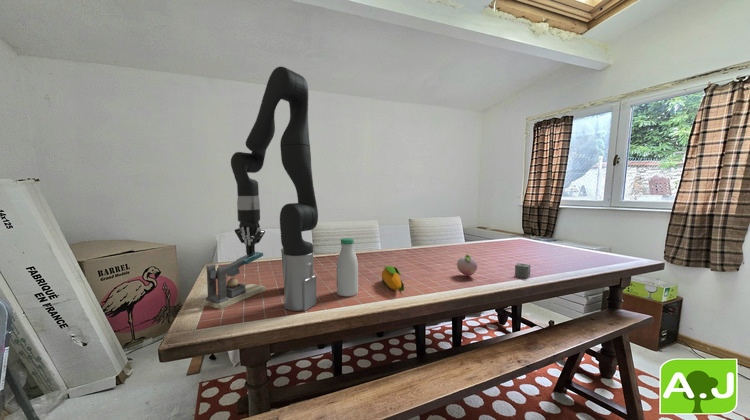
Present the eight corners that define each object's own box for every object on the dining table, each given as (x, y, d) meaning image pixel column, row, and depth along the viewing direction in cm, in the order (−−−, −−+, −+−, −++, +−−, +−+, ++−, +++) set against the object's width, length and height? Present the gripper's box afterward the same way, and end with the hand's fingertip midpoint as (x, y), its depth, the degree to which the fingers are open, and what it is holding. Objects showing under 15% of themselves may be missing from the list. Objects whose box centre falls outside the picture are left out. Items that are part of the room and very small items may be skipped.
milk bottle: (362, 293, 103) (362, 238, 102) (346, 298, 97) (346, 241, 96) (348, 288, 108) (348, 236, 107) (332, 293, 102) (332, 238, 101)
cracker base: (265, 290, 106) (265, 256, 105) (220, 309, 89) (219, 269, 88) (249, 287, 109) (249, 254, 108) (203, 305, 92) (201, 266, 91)
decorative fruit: (455, 273, 129) (455, 251, 128) (473, 273, 127) (474, 252, 127) (458, 279, 119) (458, 256, 119) (478, 280, 118) (479, 256, 118)
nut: (241, 287, 98) (240, 277, 98) (232, 290, 95) (231, 280, 95) (233, 286, 100) (233, 276, 99) (224, 289, 96) (224, 279, 96)
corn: (396, 261, 119) (408, 275, 99) (397, 279, 119) (410, 296, 100) (378, 263, 118) (388, 277, 98) (380, 281, 118) (389, 298, 99)
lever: (257, 281, 104) (264, 252, 107) (217, 279, 89) (226, 245, 92) (247, 280, 106) (254, 251, 109) (206, 277, 91) (215, 244, 94)
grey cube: (530, 275, 125) (530, 264, 124) (527, 278, 121) (527, 267, 121) (517, 273, 128) (518, 263, 128) (514, 276, 124) (515, 265, 124)
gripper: (270, 208, 104) (271, 254, 105) (243, 207, 109) (245, 251, 110) (254, 209, 97) (256, 259, 98) (226, 208, 102) (228, 255, 103)
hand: (250, 254), depth 104 cm, fingers closed
